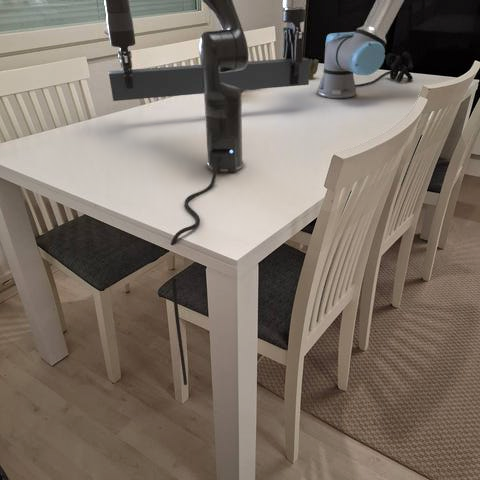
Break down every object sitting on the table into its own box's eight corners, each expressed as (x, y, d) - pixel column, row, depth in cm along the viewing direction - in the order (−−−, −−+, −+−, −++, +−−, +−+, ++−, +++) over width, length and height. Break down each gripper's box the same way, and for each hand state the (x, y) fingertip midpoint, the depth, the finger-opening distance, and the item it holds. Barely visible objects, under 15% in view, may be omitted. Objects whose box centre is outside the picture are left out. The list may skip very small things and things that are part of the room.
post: (113, 101, 143) (108, 74, 138) (112, 97, 147) (108, 71, 142) (308, 84, 157) (310, 59, 153) (303, 81, 161) (305, 57, 157)
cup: (298, 79, 205) (299, 60, 201) (304, 76, 210) (305, 58, 206) (314, 80, 202) (315, 62, 198) (319, 77, 207) (321, 59, 203)
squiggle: (400, 92, 202) (376, 71, 205) (417, 76, 202) (392, 56, 205) (405, 81, 191) (380, 59, 194) (423, 64, 191) (397, 42, 194)
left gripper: (135, 30, 130) (143, 90, 139) (131, 25, 142) (139, 80, 151) (108, 32, 128) (118, 92, 137) (107, 26, 140) (116, 82, 149)
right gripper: (315, 10, 139) (311, 87, 151) (294, 5, 153) (292, 76, 166) (293, 11, 137) (290, 89, 150) (274, 6, 152) (273, 78, 164)
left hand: (129, 86), depth 144 cm, fingers closed on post, 4 cm apart
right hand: (291, 82), depth 158 cm, fingers closed on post, 5 cm apart
